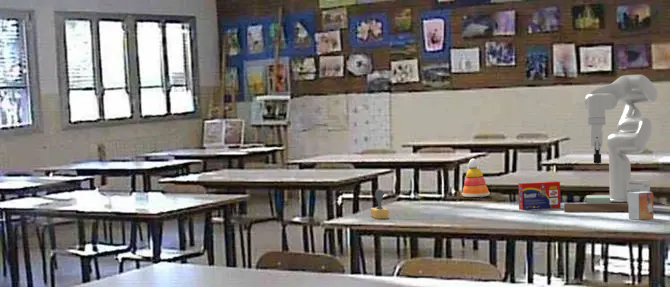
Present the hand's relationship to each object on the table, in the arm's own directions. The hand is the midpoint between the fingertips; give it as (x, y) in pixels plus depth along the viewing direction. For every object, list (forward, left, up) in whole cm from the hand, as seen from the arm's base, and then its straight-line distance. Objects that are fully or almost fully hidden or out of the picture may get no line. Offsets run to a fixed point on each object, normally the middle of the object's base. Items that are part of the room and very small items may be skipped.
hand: (597, 163), depth 434 cm
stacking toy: (-47, -60, -19) cm, 79 cm away
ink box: (+6, +17, -19) cm, 26 cm away
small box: (+50, +16, -19) cm, 56 cm away
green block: (+11, 0, -19) cm, 22 cm away
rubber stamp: (+44, -90, -19) cm, 102 cm away
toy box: (+11, -25, -19) cm, 34 cm away
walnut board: (+24, 0, -19) cm, 31 cm away
